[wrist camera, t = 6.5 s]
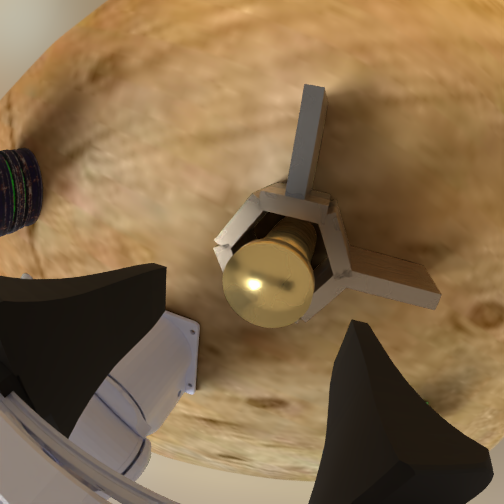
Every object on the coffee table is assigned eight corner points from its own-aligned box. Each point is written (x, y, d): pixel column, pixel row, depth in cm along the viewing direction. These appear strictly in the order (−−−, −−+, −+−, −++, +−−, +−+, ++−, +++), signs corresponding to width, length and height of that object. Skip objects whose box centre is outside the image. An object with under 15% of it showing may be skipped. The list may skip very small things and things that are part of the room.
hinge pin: (315, 272, 20) (298, 338, 13) (260, 256, 21) (216, 312, 14) (331, 217, 19) (324, 259, 11) (272, 201, 20) (229, 232, 12)
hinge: (403, 315, 19) (414, 351, 15) (232, 270, 22) (207, 297, 18) (455, 140, 15) (485, 139, 10) (260, 92, 17) (238, 76, 13)
